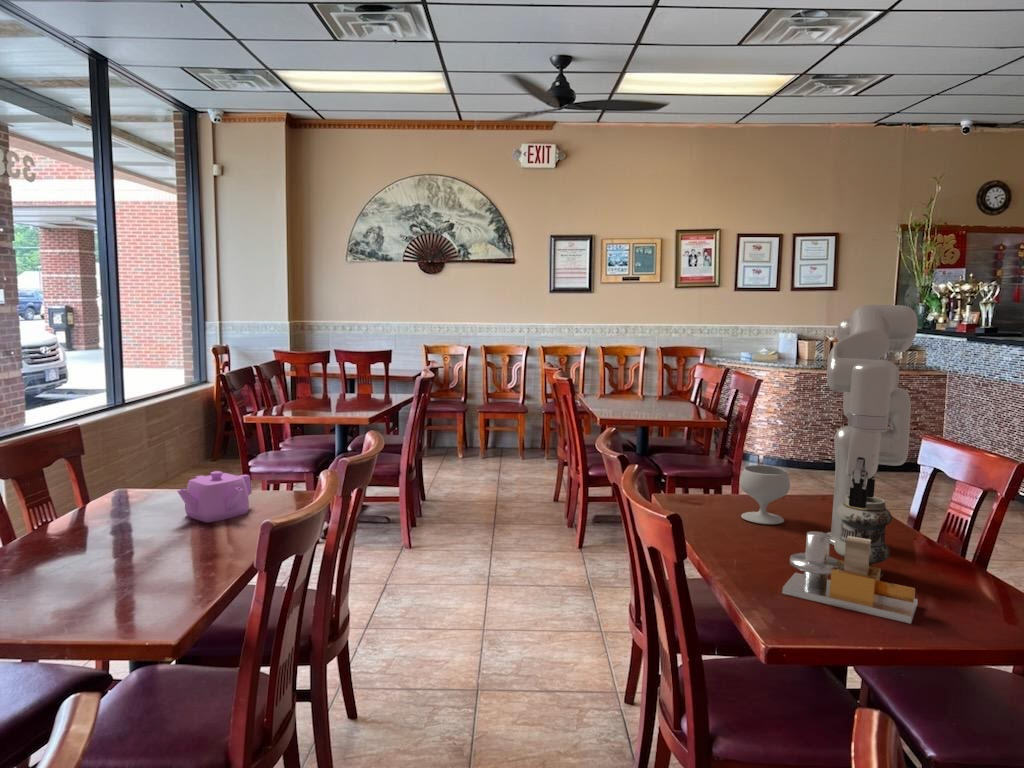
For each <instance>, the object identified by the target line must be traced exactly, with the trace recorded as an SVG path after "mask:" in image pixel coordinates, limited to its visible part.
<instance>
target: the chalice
mask: <svg viewBox="0 0 1024 768" xmlns="http://www.w3.org/2000/svg"><path fill="white" fill-rule="evenodd" d="M739 487H740V488H741V490H742V491H743V493H745V494H746V495H748V496H749V497H751V498H753V499H754V500H755V501H756V502H757V503H758V505H759V510H758V511H747V512H743V513H742V514H741V515H740V516H741V517H740V518H741V519H743V520H746V521H748V522H750V523H755V524H760V525H779V524H783V523H784V522H785V519H784V518H783V517H782V516H780V515H779V514H774V513H772V512H771V513H770V512H768V511H767V507H768V505H769V504H771V502H774V501H777V500H779V499H781V498H783V497H785V496H786V495H787V494H788V493H789V492H790V490H791V481H790V478H789V474H788V472H787V470H786V469H784V468H781V467H776V466H771V465H762V464H759V465H758V464H757V465H755V464H754V465H748V466H745V467H744V468H743V470H742V472H741V475H740V478H739Z"/></svg>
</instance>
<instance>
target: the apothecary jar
mask: <svg viewBox="0 0 1024 768" xmlns="http://www.w3.org/2000/svg"><path fill="white" fill-rule="evenodd" d="M849 496H850V495H847V496H846V498H845V501H844V503H843V504H841V505H840V506H839V507H838V509H837V514H838V516H839V518H840V519H842V526H841V535H840V538H838V539H837V540H836V541H835V543H834V545H833V548H834V550H835V552H836V553H837V554H838V555H839V556H840V557H842V558H843V559H844V558H845V545H846V539H847V537H848V536H852V537H858V538H864V539H870V540H871V545H870V557H869V566H871V567H875V565H874V564H879V563H882V562H885V561H886V560H888V559H889V557H890V554H891V550H890V548H889V546H888V544H886V540H885V539H886V526H888V525H889V524H890V523H891V522H892V520H893V515H892V513H891V512H890V511H889V510H888V509H887V506H886V501H885V500H884V498H881V497H878V496H875V495H874V496H873V497H872V498H871V497H867V502H866V508H858V507H852V506H849ZM883 576H884V572H883V571H882V570H881V571H880V579H881V578H883Z"/></svg>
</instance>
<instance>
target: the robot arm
mask: <svg viewBox="0 0 1024 768" xmlns="http://www.w3.org/2000/svg"><path fill="white" fill-rule="evenodd" d="M917 331H918V317H917V314H916V312H915V310H914V309H913V308H912V307H910V306H908V305H904V304H903V305H901V304H896V305H895V304H865V305H862V306H859V307H857V308H856V309H855V310H854V311H852V314H851V316H850V318H849V317H848V318H845V319H843V320H840V322H839V323H838V325H837V329H836V338H837V339H836V340H837V343H836V344H835V345H833V347H832V348H831V350H830V352H829V354H828V357H827V365H826V376H825V377H826V383H827V385H828V387H829V388H830V389H831V390H832V391H834V392H838V393H843V394H842V411H843V415H844V416H845V417H846V418H847V425H846V426H842V427H841V426H840V428H838V429H837V430H836V432H835V435H834V440H833V444H834V445H833V446H834V456H835V458H834V459H835V468H834V469H835V472H834V473H835V474H834V487H833V488H834V491H833V503H832V514H831V515H832V517H831V527H830V528H831V529H830V530H831V531H828V532H825V533H826V534H829V535H830V545H832V546H834V543H835V541H836V540H837V539H838V538H840V535H841V526H842V519H840V518H839V516H838V514H837V509H838V507H839V506H840V505H841V504H843V503H844V501H845V498H846V496H847V495H850V496H849V506H852V507H858V508H866V502H867V497H871V498H872V497H873V496H874V497H875V486H876V485H875V484H876V479H875V477H876V473H877V471H878V467H879V465H882V466H883V465H885V466H894V467H895V466H902V465H904V464H905V463H906V461H907V459H908V455H909V448H910V447H909V445H910V431H911V430H910V428H911V413H912V412H911V411H912V408H911V406H912V403H911V397H910V394H909V391H908V390H906V389H904V388H902V387H898V386H899V382H900V370H899V368H898V367H897V365H896V364H895V362H893V361H890V360H887V359H881V358H883V357H884V356H885V355H886V354H887V353H888V352H890V353H904V352H906V351H908V350H909V349H910V348H911V346H912V343H913V341H914V340H915V337H916V335H917ZM888 426H890V427H888Z"/></svg>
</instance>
